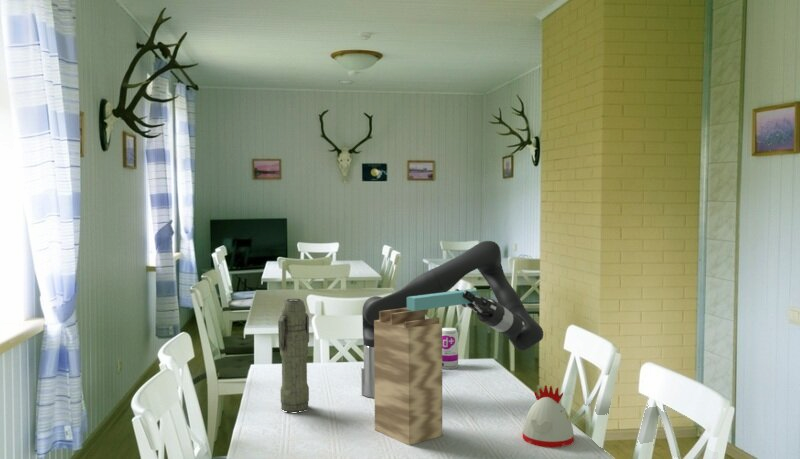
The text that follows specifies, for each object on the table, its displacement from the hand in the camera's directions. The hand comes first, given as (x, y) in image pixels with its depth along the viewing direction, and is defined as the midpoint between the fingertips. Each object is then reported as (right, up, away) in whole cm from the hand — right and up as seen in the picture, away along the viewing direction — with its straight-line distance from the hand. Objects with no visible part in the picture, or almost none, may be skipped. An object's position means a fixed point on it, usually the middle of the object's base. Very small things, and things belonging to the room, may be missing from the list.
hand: (459, 292), depth 211 cm
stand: (-15, -40, -6) cm, 43 cm away
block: (-5, -3, -4) cm, 7 cm away
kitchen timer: (+24, -40, -11) cm, 48 cm away
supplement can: (+1, -36, +71) cm, 79 cm away
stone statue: (-51, -39, +18) cm, 67 cm away
